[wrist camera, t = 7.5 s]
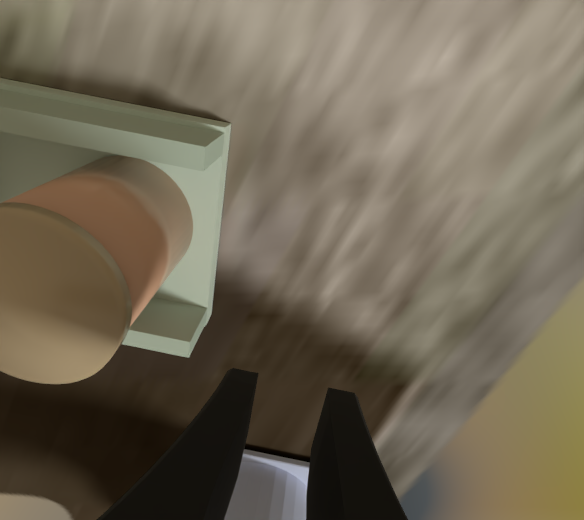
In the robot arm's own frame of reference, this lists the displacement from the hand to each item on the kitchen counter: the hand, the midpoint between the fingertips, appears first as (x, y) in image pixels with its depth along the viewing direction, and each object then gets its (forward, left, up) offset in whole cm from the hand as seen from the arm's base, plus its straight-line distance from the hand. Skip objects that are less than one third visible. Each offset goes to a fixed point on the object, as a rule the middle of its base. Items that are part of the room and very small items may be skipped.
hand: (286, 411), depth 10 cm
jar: (0, +8, -8) cm, 11 cm away
